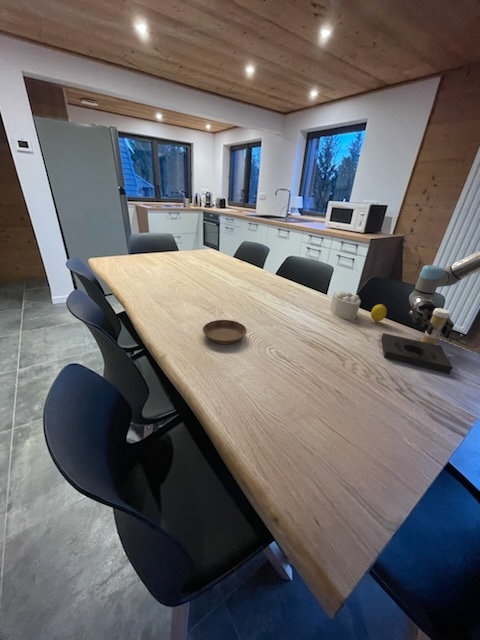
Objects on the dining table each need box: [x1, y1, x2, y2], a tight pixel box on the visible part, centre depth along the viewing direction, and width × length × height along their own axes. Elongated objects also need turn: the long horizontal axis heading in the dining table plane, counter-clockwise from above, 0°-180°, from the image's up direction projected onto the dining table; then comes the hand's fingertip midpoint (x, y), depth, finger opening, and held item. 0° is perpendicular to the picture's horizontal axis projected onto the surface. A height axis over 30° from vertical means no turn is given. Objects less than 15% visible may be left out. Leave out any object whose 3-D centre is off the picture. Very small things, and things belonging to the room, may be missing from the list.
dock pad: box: [380, 332, 453, 375], centre depth 88 cm, size 18×14×2 cm
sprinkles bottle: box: [420, 307, 451, 345], centre depth 93 cm, size 5×5×14 cm
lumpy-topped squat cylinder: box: [329, 291, 362, 321], centre depth 115 cm, size 10×13×9 cm
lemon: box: [370, 303, 388, 323], centre depth 109 cm, size 6×6×8 cm
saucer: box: [202, 319, 247, 345], centre depth 90 cm, size 15×15×3 cm
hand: (439, 332), depth 89 cm, fingers closed on sprinkles bottle, 4 cm apart
